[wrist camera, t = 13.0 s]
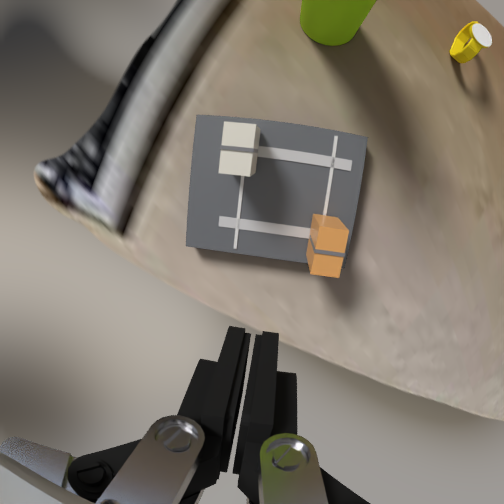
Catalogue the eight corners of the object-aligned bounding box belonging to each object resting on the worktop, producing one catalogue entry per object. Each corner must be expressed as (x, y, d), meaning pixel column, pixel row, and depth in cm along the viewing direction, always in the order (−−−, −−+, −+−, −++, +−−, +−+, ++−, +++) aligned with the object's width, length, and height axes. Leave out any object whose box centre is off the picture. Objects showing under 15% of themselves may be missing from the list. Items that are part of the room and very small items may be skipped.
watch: (457, 71, 23) (484, 63, 17) (439, 55, 23) (464, 44, 17) (472, 39, 21) (497, 28, 15) (455, 24, 20) (478, 10, 15)
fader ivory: (261, 129, 26) (256, 124, 21) (256, 172, 27) (250, 176, 22) (233, 127, 26) (223, 121, 21) (228, 169, 27) (217, 173, 22)
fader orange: (338, 217, 27) (350, 231, 23) (330, 257, 29) (339, 278, 24) (312, 213, 27) (318, 226, 23) (305, 254, 29) (309, 274, 24)
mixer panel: (362, 138, 27) (367, 137, 25) (340, 261, 31) (344, 268, 29) (202, 117, 28) (196, 114, 26) (191, 240, 32) (185, 246, 30)
